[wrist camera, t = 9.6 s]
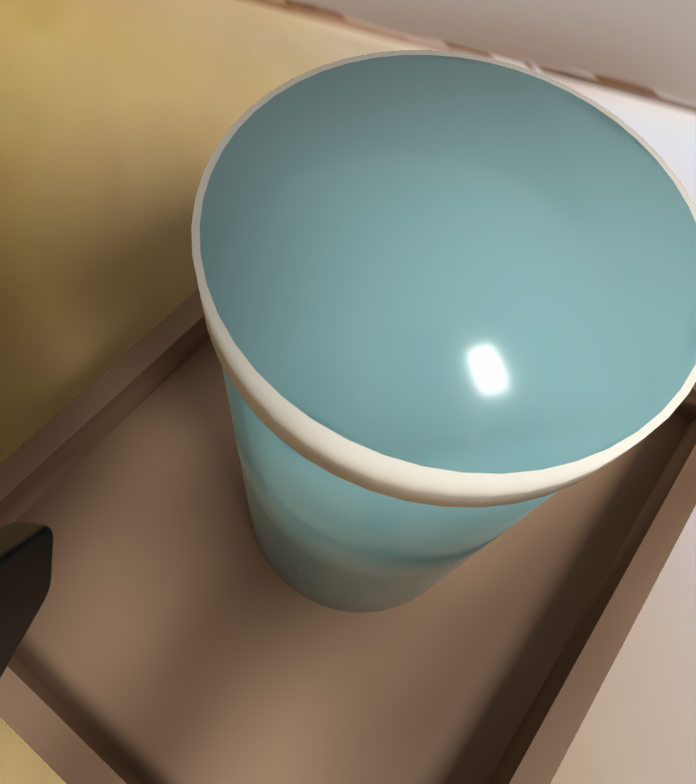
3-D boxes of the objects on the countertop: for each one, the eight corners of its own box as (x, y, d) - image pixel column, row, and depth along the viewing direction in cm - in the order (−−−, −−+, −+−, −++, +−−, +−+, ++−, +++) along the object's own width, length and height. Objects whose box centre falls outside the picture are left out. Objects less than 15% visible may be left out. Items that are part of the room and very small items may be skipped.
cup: (510, 553, 19) (829, 350, 8) (303, 660, 17) (336, 593, 6) (404, 368, 22) (533, 11, 10) (212, 445, 20) (117, 115, 9)
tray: (703, 431, 23) (749, 402, 21) (367, 1043, 15) (382, 1103, 13) (349, 197, 26) (356, 149, 24) (-81, 597, 18) (-132, 582, 16)
